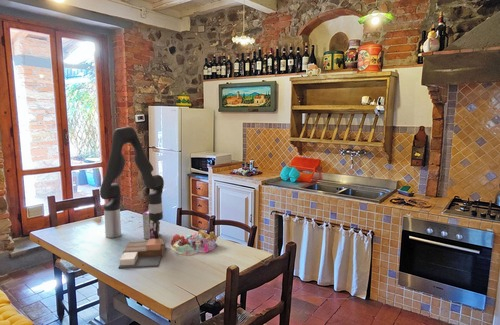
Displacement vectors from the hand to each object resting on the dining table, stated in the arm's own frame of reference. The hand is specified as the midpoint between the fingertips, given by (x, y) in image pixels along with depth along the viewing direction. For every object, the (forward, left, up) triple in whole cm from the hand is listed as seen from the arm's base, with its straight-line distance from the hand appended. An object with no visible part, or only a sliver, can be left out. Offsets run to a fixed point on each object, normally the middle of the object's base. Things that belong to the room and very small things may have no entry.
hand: (156, 240), depth 190 cm
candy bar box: (-22, -7, -5) cm, 24 cm away
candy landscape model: (-1, +21, -6) cm, 22 cm away
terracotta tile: (+6, 0, -1) cm, 6 cm away
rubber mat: (+17, -6, -5) cm, 19 cm away
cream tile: (+16, -12, -4) cm, 21 cm away
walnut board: (+4, -6, -5) cm, 9 cm away
